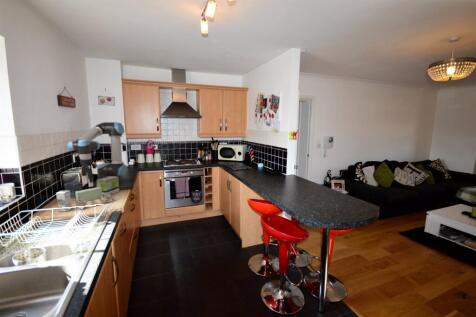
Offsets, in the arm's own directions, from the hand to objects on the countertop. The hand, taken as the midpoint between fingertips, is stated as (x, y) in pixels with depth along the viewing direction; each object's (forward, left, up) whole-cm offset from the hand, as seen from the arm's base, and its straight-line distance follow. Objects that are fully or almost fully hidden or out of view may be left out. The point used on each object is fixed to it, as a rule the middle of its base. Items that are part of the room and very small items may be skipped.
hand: (88, 185), depth 172 cm
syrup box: (+18, +8, -14) cm, 24 cm away
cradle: (0, +10, -14) cm, 17 cm away
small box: (+4, -25, -14) cm, 29 cm away
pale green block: (0, 0, -14) cm, 14 cm away
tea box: (-18, -10, -14) cm, 25 cm away
